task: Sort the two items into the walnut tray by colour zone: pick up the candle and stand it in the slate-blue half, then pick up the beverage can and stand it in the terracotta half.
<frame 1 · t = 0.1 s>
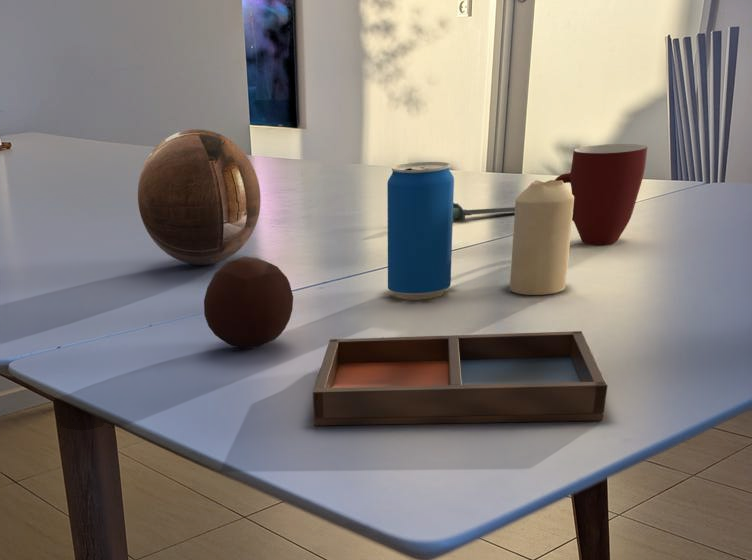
beverage can: (418, 295, 96), on the table
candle: (537, 291, 94), on the table
mug: (588, 243, 111), on the table
dark brown ball: (251, 348, 84), on the table
sorting tray: (453, 392, 70), on the table
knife: (479, 218, 130), on the table
brown shiny sphere: (206, 265, 116), on the table
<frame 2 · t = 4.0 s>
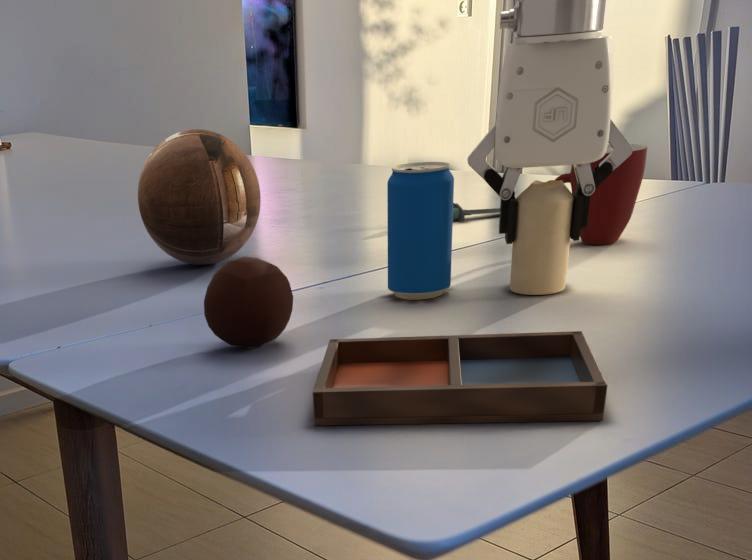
hand: (541, 237, 91), 5 cm above the table, tool pointing down, fingers closed on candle, 5 cm apart
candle: (537, 291, 94), on the table, touching gripper
everything else where it was.
when the fingers open (6 cm above the table, at t = 12.0 s): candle stays where it is, resting on sorting tray.
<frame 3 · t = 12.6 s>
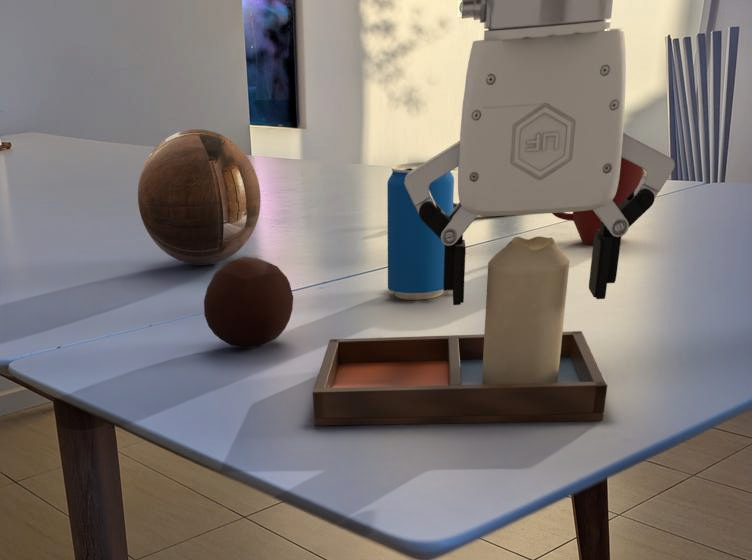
hand: (526, 297, 65), 7 cm above the table, tool pointing down, fingers open, 9 cm apart
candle: (519, 384, 69), point 1 cm above the table, touching sorting tray
everything else where it was.
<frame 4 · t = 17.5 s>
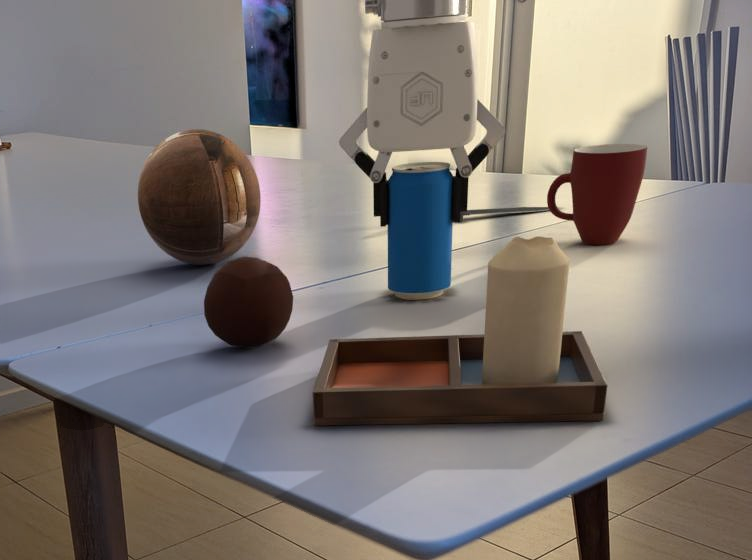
hand: (420, 220, 92), 7 cm above the table, tool pointing down, fingers closed on beverage can, 6 cm apart
beverage can: (418, 295, 96), on the table, touching gripper
everything else where it was.
when the fingers open (8 cm above the table, at t = 25.7 s): beverage can stays where it is, resting on sorting tray.
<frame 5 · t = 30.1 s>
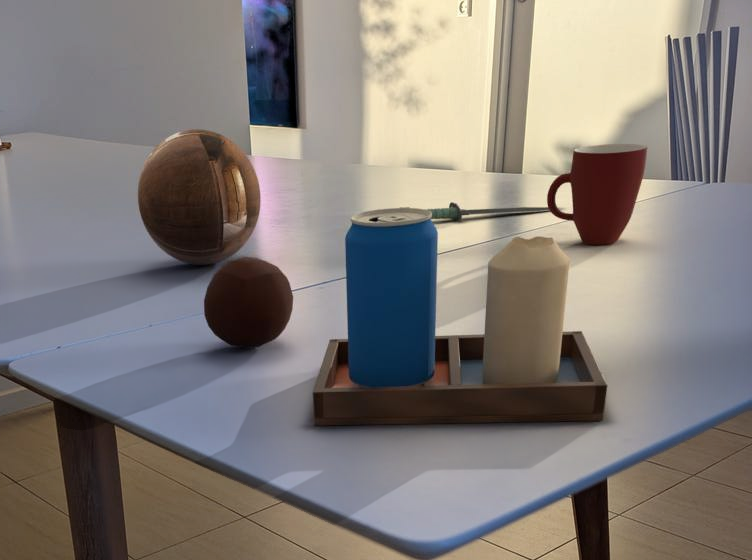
beverage can: (391, 387, 70), point 1 cm above the table, touching sorting tray
everything else where it was.
at the end: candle inside the target area on the sorting tray (0.2 cm from its centre), point 0.5 cm above the sorting tray's base; beverage can inside the target area on the sorting tray (0.3 cm from its centre), point 0.5 cm above the sorting tray's base; beverage can tilted 0° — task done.
